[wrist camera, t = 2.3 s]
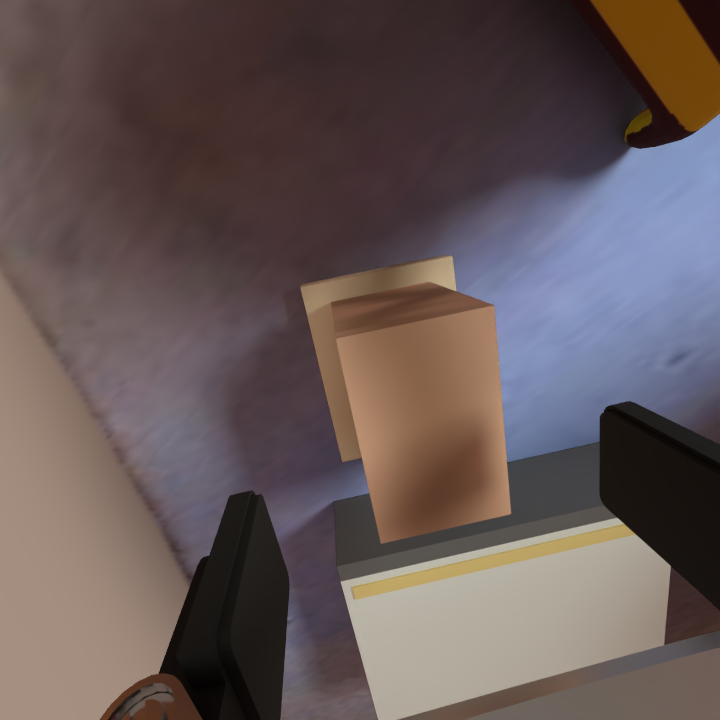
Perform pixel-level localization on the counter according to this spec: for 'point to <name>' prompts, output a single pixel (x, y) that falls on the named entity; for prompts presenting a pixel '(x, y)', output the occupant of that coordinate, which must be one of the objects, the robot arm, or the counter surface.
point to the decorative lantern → (663, 61)
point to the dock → (500, 590)
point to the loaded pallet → (414, 393)
